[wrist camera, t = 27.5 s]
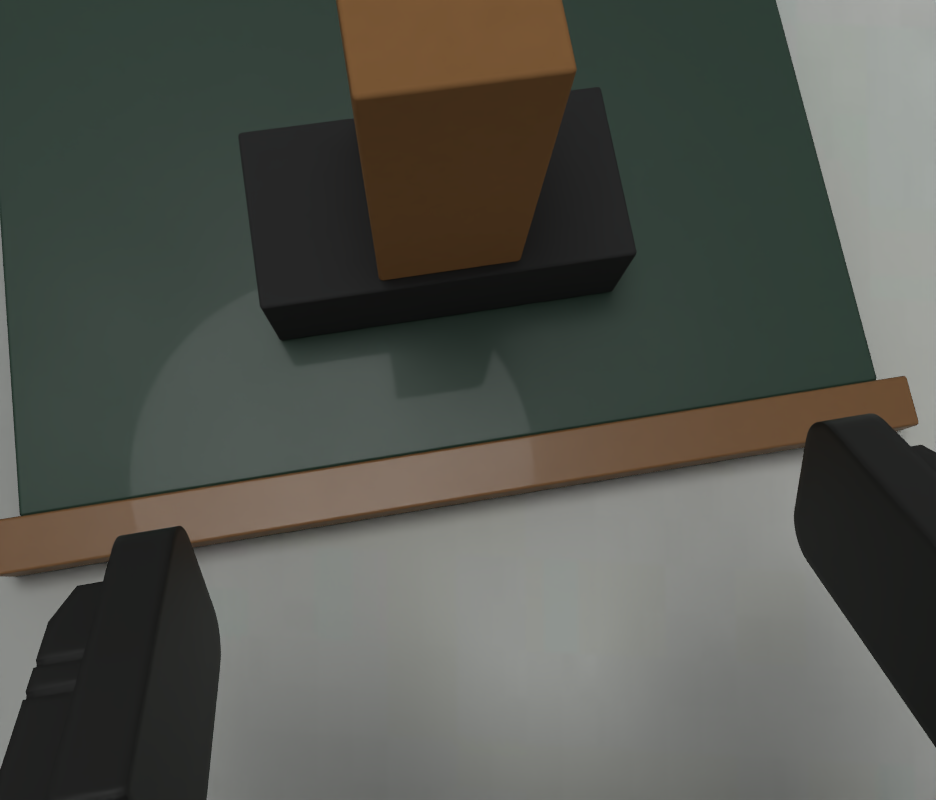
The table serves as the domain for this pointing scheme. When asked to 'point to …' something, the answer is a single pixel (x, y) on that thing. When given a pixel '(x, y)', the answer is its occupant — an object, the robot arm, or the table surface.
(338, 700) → the table surface
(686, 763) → the table surface
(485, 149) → the eraser
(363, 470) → the chalkboard
